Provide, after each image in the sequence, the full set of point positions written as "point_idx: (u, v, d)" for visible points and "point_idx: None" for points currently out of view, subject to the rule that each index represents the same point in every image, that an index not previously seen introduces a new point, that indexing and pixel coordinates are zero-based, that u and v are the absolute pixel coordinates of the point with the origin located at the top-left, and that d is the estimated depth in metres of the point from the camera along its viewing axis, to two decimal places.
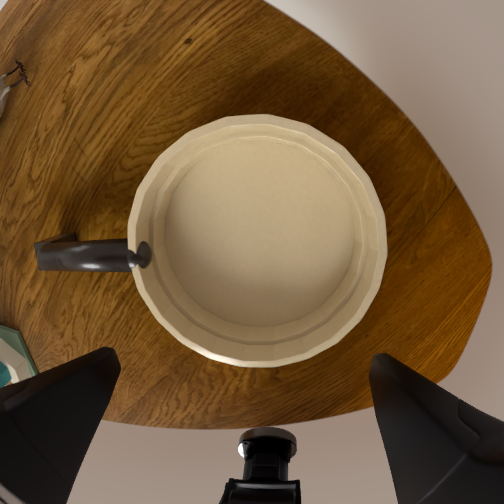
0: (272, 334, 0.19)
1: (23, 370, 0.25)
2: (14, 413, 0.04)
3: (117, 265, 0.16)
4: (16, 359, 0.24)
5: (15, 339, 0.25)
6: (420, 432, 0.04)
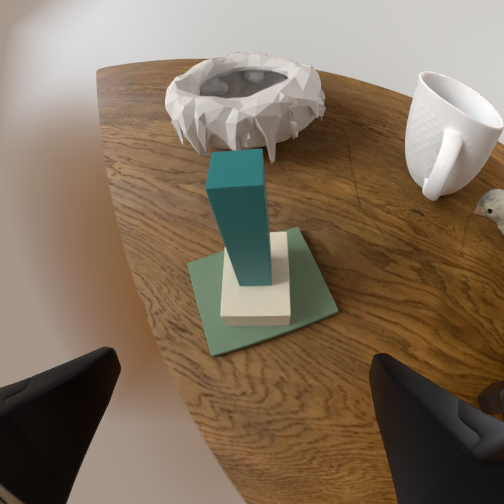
0: None
1: (271, 321, 0.20)
2: (14, 413, 0.04)
3: None
4: None
5: (320, 301, 0.22)
6: (420, 432, 0.04)
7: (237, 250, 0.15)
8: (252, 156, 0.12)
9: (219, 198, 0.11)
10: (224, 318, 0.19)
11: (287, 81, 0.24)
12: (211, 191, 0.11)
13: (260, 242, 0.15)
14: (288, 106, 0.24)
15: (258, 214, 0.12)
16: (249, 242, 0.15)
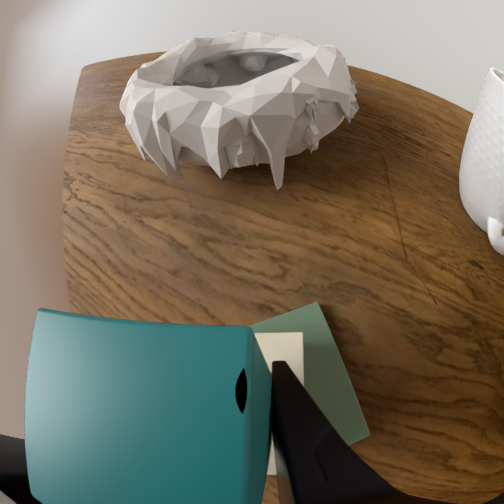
0: None
1: None
2: None
3: None
4: None
5: (346, 424, 0.12)
6: (279, 452, 0.04)
7: None
8: (188, 395, 0.02)
9: None
10: None
11: (303, 62, 0.15)
12: None
13: None
14: (306, 100, 0.14)
15: None
16: None
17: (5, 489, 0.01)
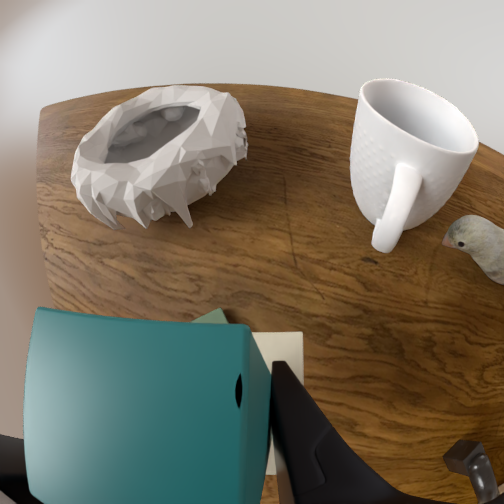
0: None
1: None
2: None
3: None
4: None
5: None
6: (279, 452, 0.04)
7: None
8: (185, 392, 0.02)
9: None
10: None
11: (192, 128, 0.21)
12: (51, 502, 0.01)
13: None
14: (191, 164, 0.21)
15: None
16: None
17: (5, 489, 0.01)
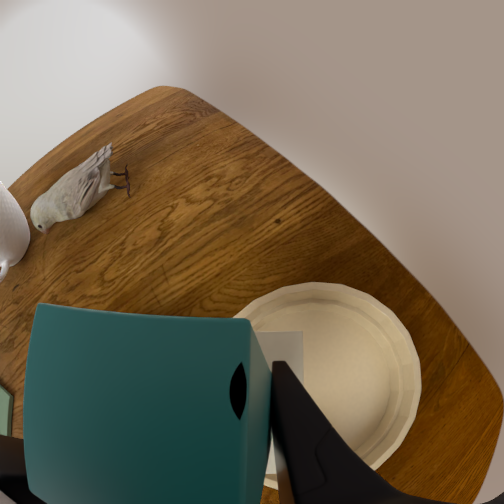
0: None
1: None
2: None
3: None
4: None
5: (3, 398, 0.18)
6: (279, 453, 0.04)
7: None
8: (185, 386, 0.02)
9: None
10: None
11: None
12: (51, 499, 0.01)
13: None
14: None
15: None
16: None
17: (5, 489, 0.01)
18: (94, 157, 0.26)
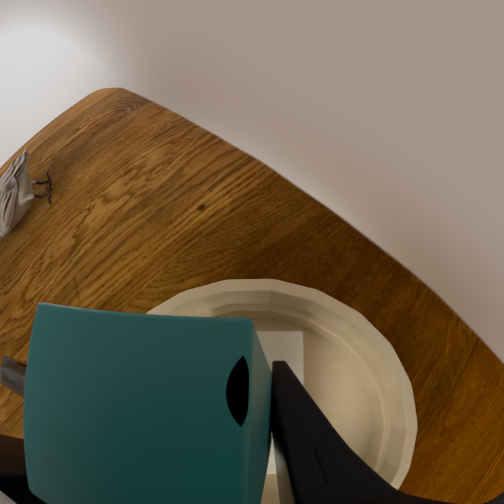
0: None
1: None
2: None
3: None
4: None
5: None
6: (279, 452, 0.04)
7: None
8: (187, 386, 0.02)
9: None
10: None
11: None
12: (51, 500, 0.01)
13: None
14: None
15: None
16: None
17: (5, 489, 0.01)
18: (11, 166, 0.18)
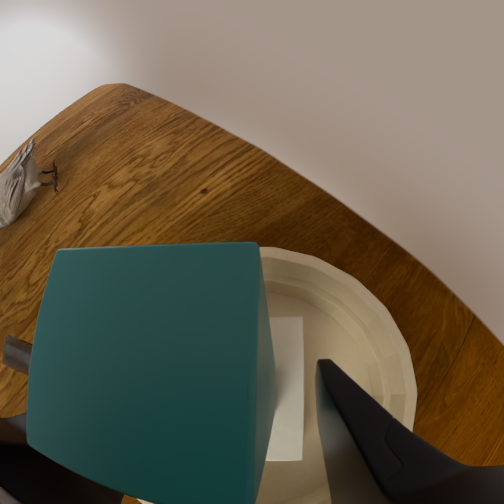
0: None
1: None
2: None
3: None
4: None
5: None
6: (344, 448, 0.04)
7: None
8: (199, 301, 0.02)
9: None
10: None
11: None
12: (49, 453, 0.02)
13: None
14: None
15: None
16: None
17: None
18: (18, 155, 0.19)
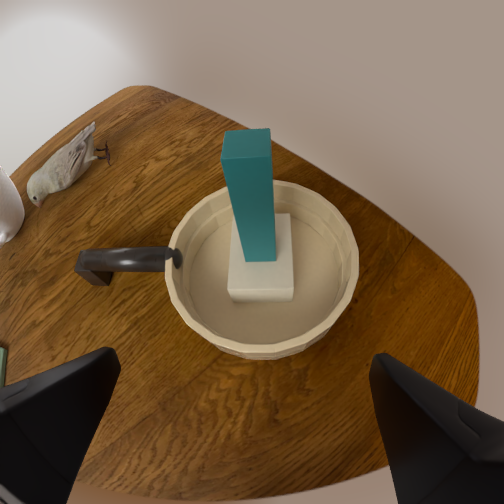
0: None
1: (276, 296, 0.21)
2: (14, 413, 0.04)
3: (155, 257, 0.21)
4: None
5: None
6: (420, 432, 0.04)
7: (245, 221, 0.17)
8: (261, 134, 0.13)
9: (232, 168, 0.13)
10: (231, 292, 0.21)
11: None
12: (225, 161, 0.12)
13: (267, 213, 0.16)
14: None
15: (266, 184, 0.14)
16: (257, 213, 0.16)
17: None
18: (81, 133, 0.30)
